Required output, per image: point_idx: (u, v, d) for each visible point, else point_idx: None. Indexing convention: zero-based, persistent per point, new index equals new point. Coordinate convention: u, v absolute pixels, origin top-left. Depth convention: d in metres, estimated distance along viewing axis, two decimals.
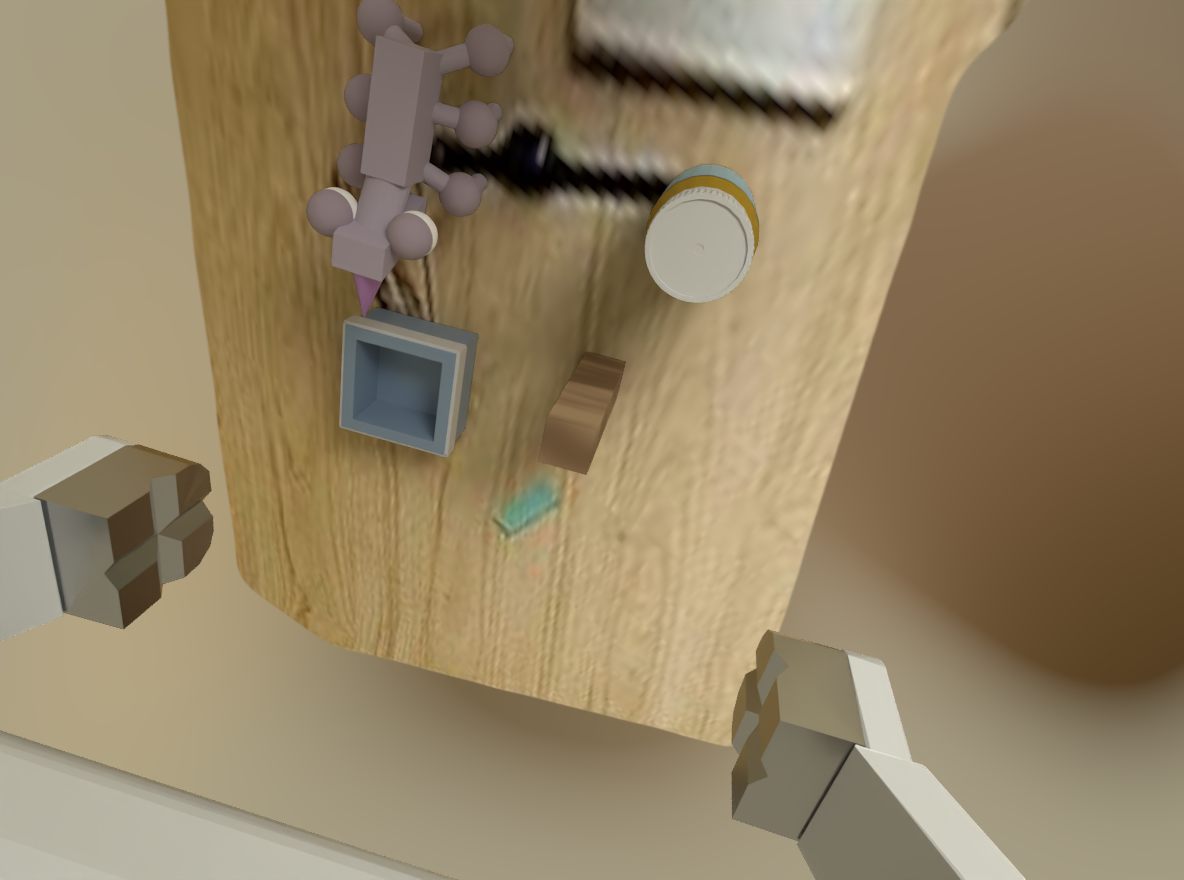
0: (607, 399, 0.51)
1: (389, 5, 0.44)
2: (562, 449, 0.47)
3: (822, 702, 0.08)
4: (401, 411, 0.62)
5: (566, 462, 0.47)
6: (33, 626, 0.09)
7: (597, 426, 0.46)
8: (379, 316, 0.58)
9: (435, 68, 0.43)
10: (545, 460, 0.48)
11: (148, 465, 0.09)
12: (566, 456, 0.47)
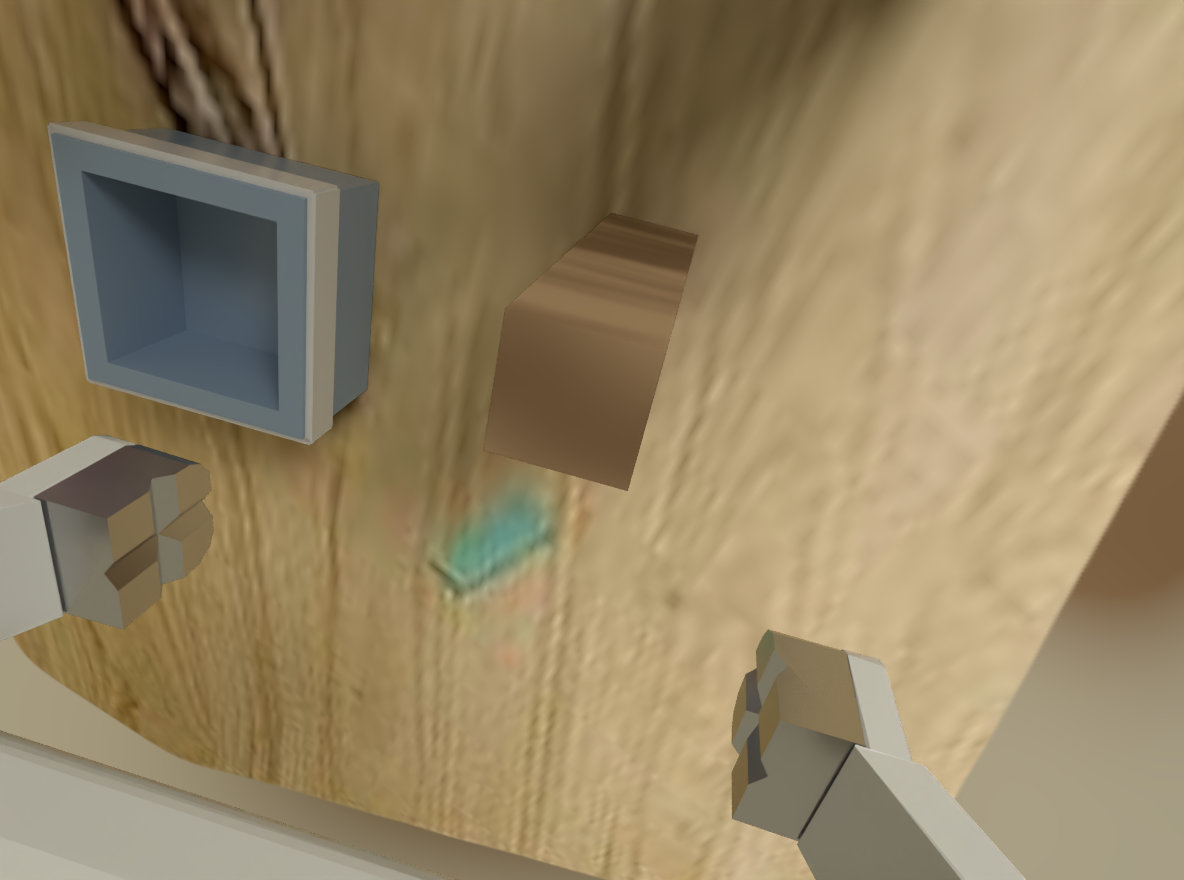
0: (678, 286, 0.19)
1: None
2: (556, 413, 0.15)
3: (822, 702, 0.08)
4: (231, 352, 0.30)
5: (567, 453, 0.16)
6: (35, 626, 0.09)
7: (665, 339, 0.15)
8: (159, 136, 0.27)
9: None
10: (504, 448, 0.16)
11: (148, 465, 0.09)
12: (567, 435, 0.15)
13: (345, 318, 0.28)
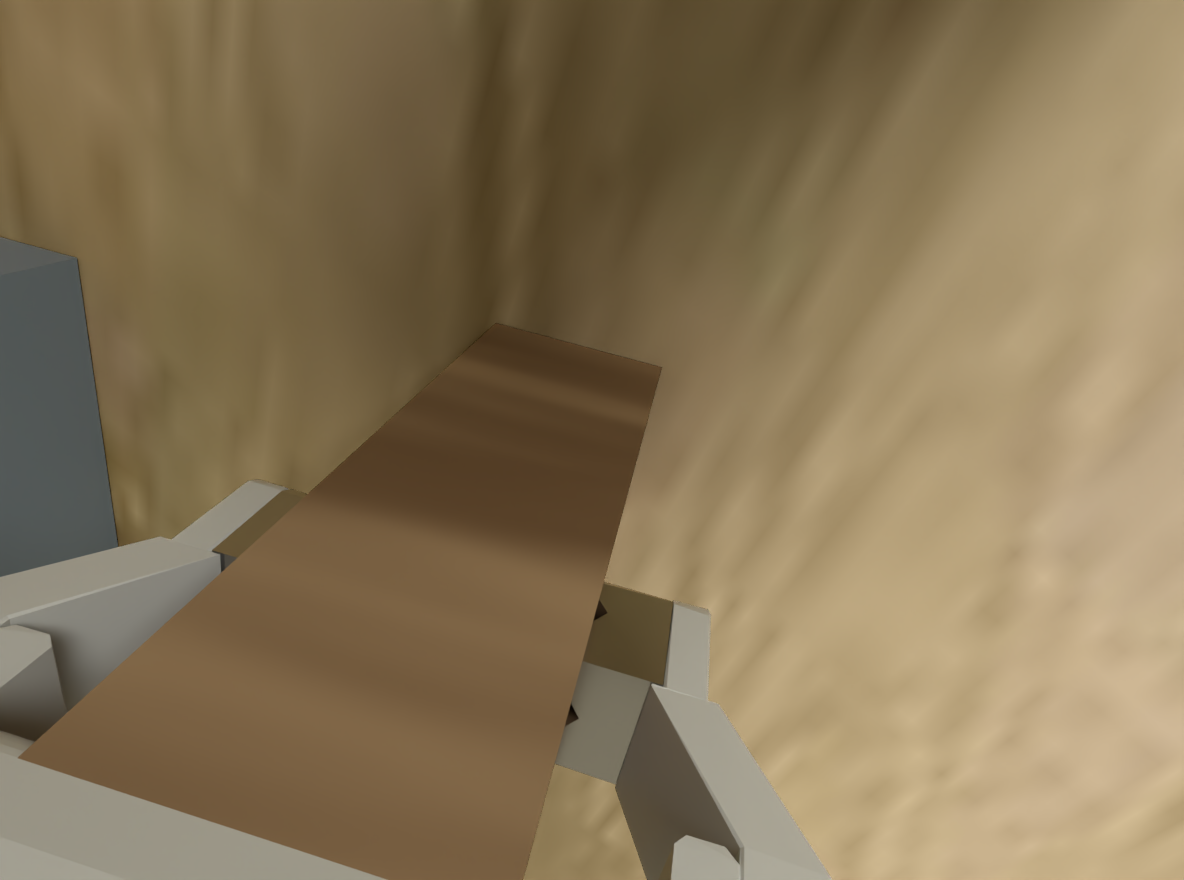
0: (560, 675, 0.06)
1: None
2: None
3: (632, 646, 0.08)
4: None
5: None
6: None
7: None
8: None
9: None
10: None
11: None
12: None
13: (20, 505, 0.15)
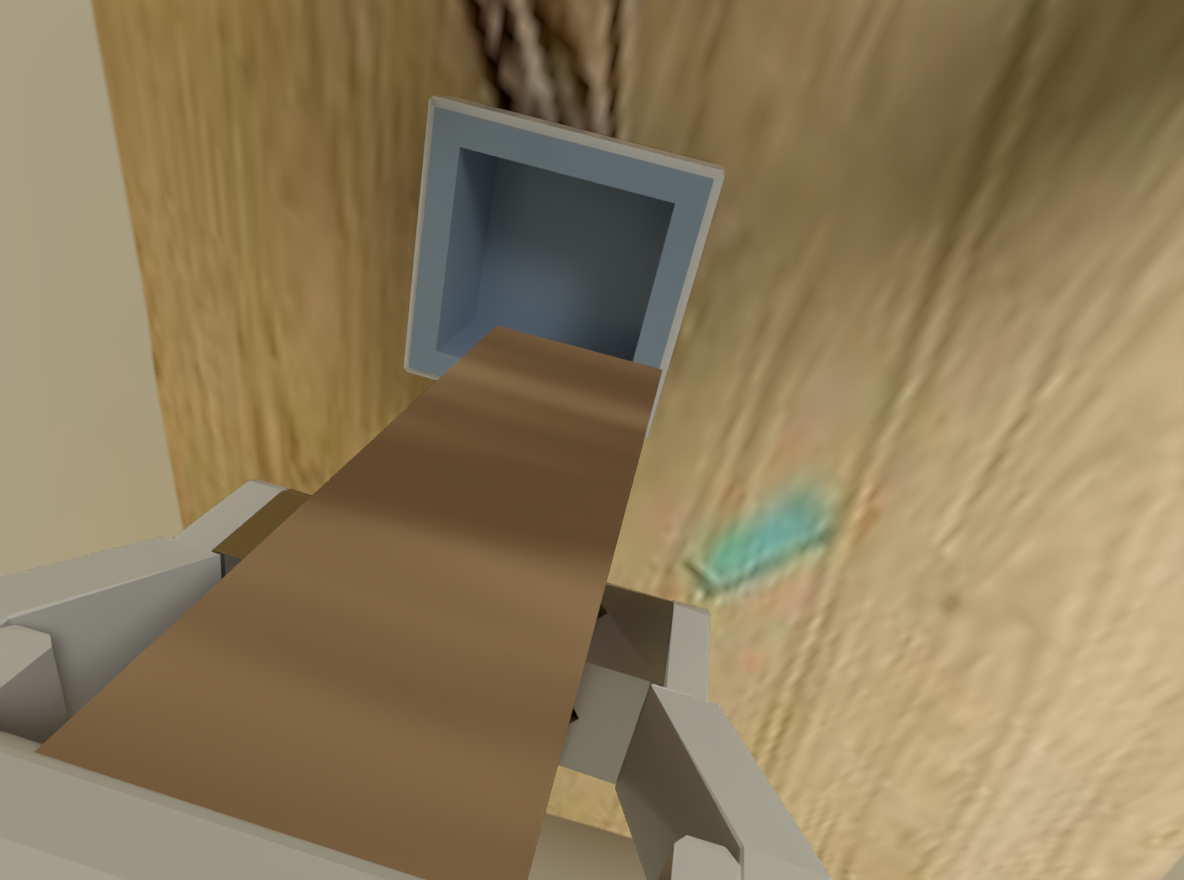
0: (562, 679, 0.06)
1: None
2: None
3: (632, 646, 0.08)
4: None
5: None
6: None
7: None
8: None
9: None
10: None
11: None
12: None
13: None
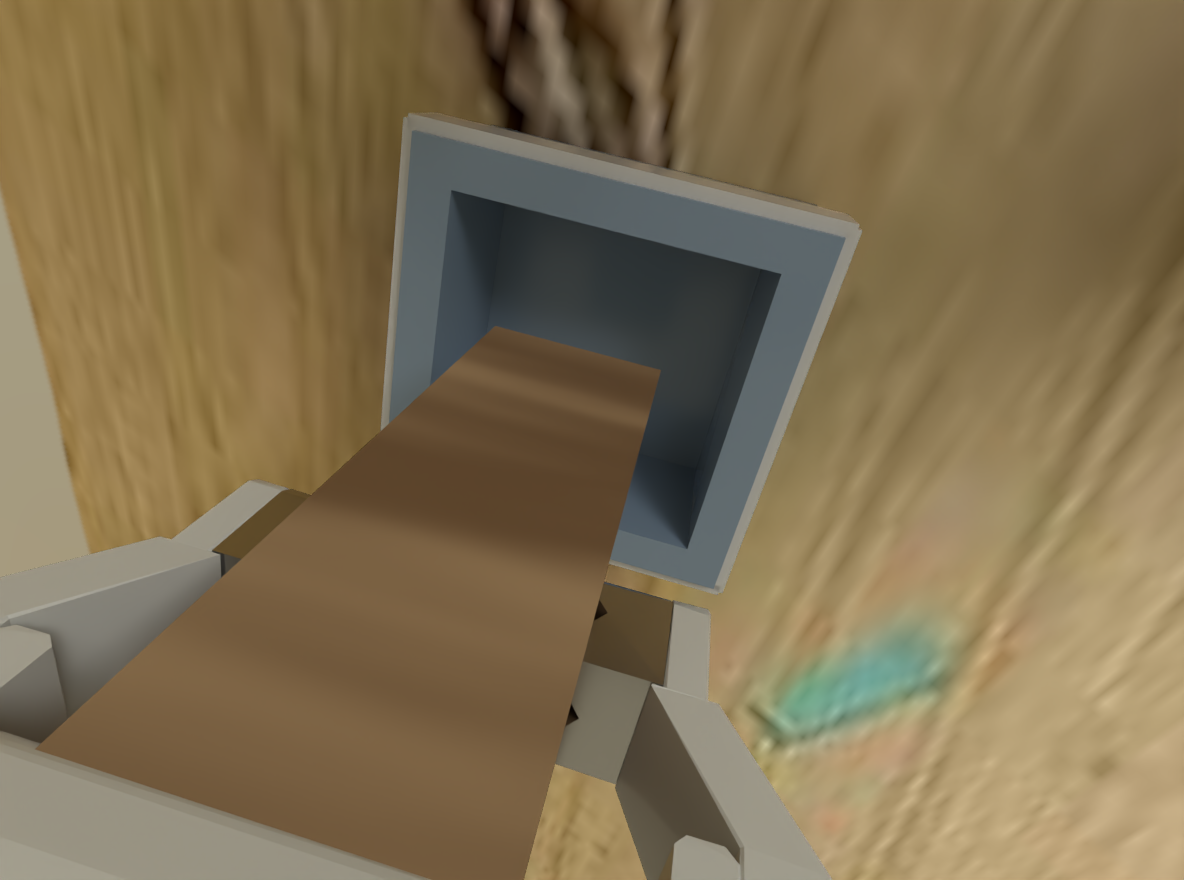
0: (560, 679, 0.06)
1: None
2: None
3: (631, 646, 0.08)
4: None
5: None
6: None
7: None
8: None
9: None
10: None
11: None
12: None
13: None
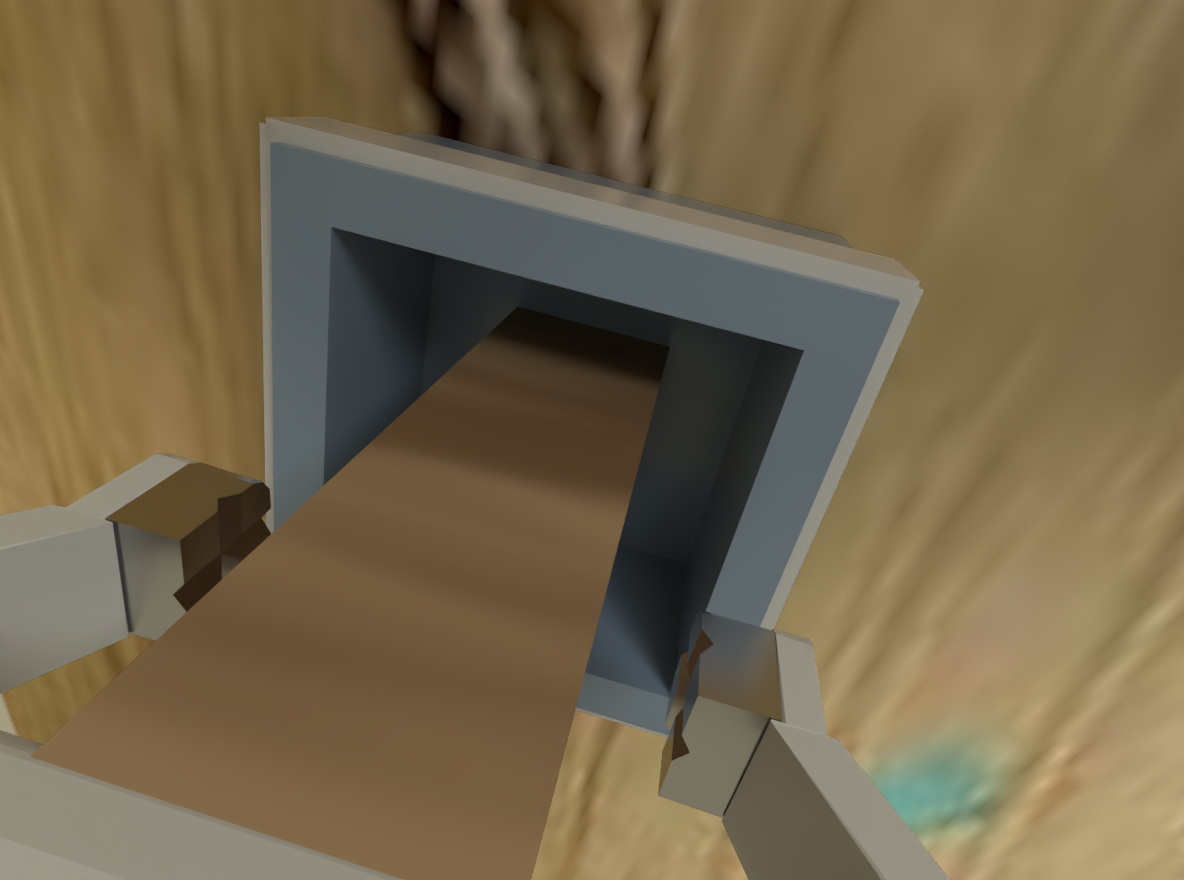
0: (594, 581, 0.08)
1: None
2: None
3: (743, 680, 0.08)
4: None
5: None
6: (101, 647, 0.09)
7: None
8: None
9: None
10: None
11: (213, 484, 0.09)
12: None
13: None
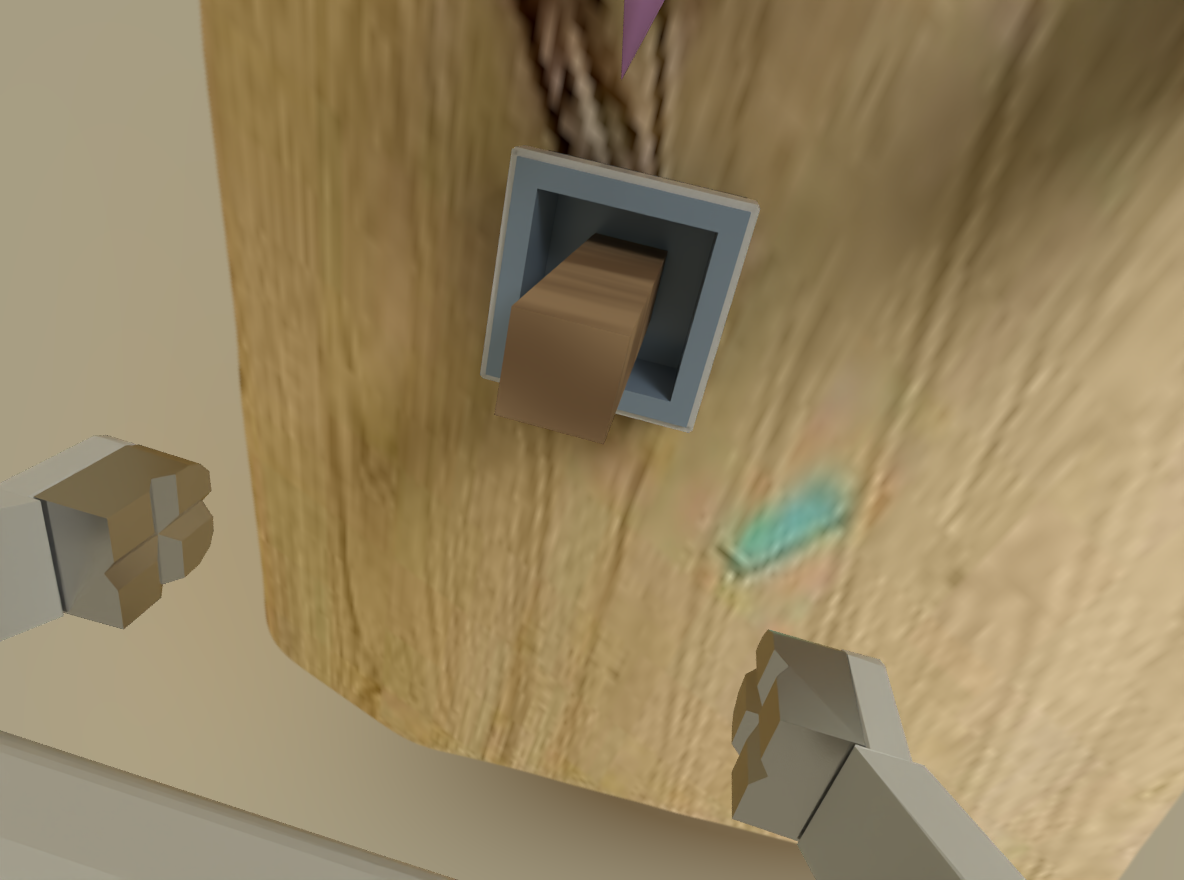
0: (645, 291, 0.24)
1: None
2: (549, 384, 0.20)
3: (823, 703, 0.08)
4: None
5: (558, 415, 0.21)
6: (34, 627, 0.09)
7: (630, 329, 0.20)
8: None
9: None
10: (511, 412, 0.21)
11: (148, 465, 0.09)
12: (558, 401, 0.21)
13: None
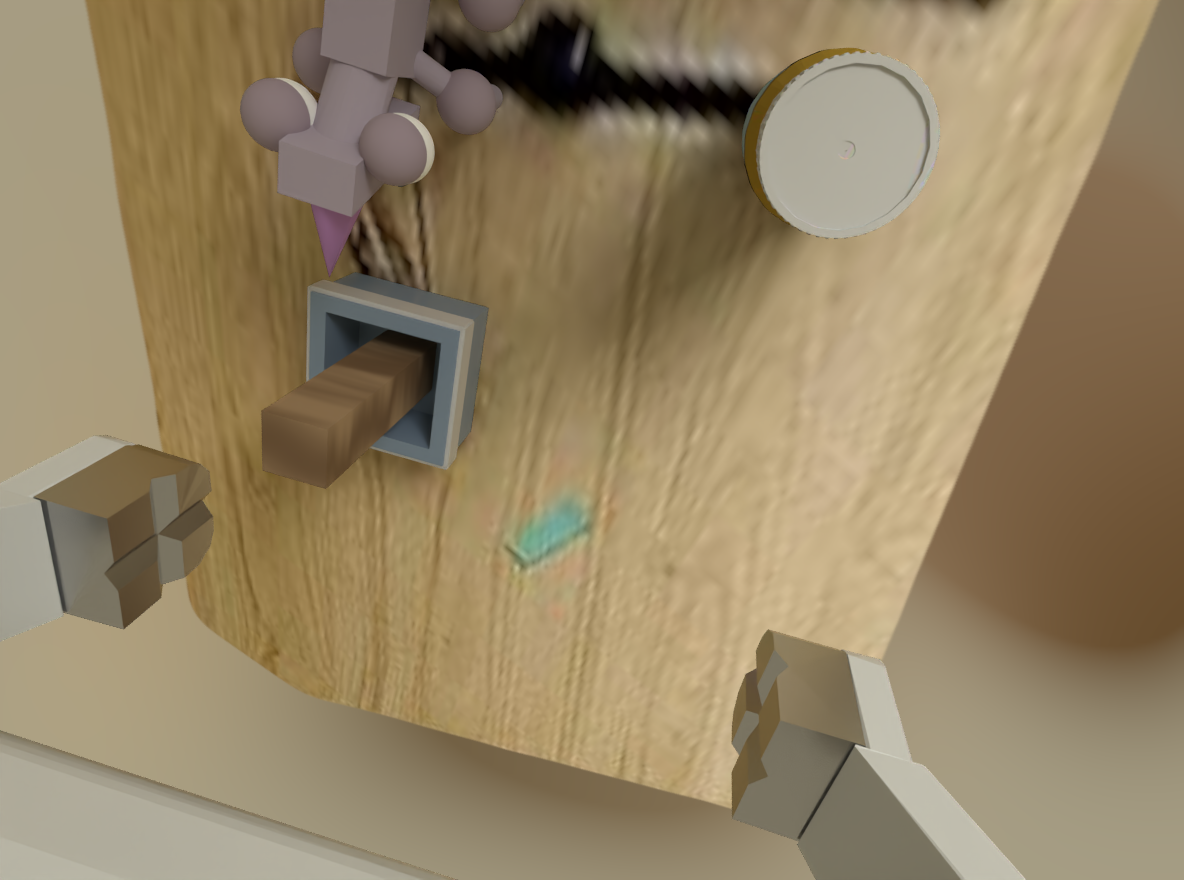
0: (376, 387, 0.38)
1: None
2: (289, 454, 0.35)
3: (823, 702, 0.08)
4: None
5: (297, 472, 0.35)
6: (35, 626, 0.09)
7: (333, 423, 0.34)
8: (358, 283, 0.44)
9: None
10: (271, 469, 0.35)
11: (148, 465, 0.09)
12: (296, 463, 0.35)
13: (466, 391, 0.46)
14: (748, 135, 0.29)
